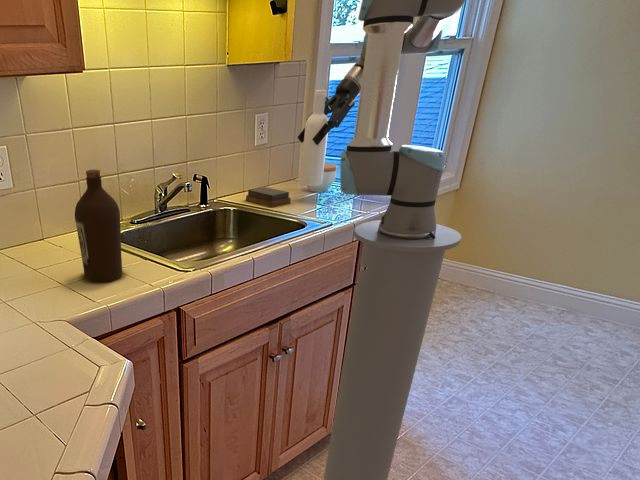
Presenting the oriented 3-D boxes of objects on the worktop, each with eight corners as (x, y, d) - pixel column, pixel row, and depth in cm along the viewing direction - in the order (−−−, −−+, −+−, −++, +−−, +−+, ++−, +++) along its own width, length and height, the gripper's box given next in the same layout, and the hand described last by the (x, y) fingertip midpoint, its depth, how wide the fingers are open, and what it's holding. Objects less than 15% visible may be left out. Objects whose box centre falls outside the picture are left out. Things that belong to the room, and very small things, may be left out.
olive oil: (120, 266, 130) (112, 165, 118) (128, 280, 122) (120, 172, 109) (80, 271, 128) (66, 169, 116) (85, 286, 119) (71, 176, 107)
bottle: (314, 181, 185) (324, 89, 170) (326, 184, 179) (338, 89, 164) (295, 183, 183) (303, 90, 168) (307, 186, 177) (317, 90, 162)
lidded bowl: (329, 185, 205) (332, 157, 200) (339, 192, 194) (343, 162, 189) (298, 187, 205) (301, 158, 200) (306, 193, 194) (309, 163, 189)
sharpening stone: (290, 203, 182) (291, 192, 180) (271, 207, 178) (272, 195, 176) (263, 197, 193) (264, 186, 191) (245, 200, 189) (246, 189, 187)
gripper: (378, 94, 163) (332, 151, 166) (336, 93, 180) (295, 145, 183) (368, 76, 159) (321, 135, 162) (326, 77, 176) (284, 131, 179)
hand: (307, 141), depth 173 cm, fingers closed on bottle, 8 cm apart
